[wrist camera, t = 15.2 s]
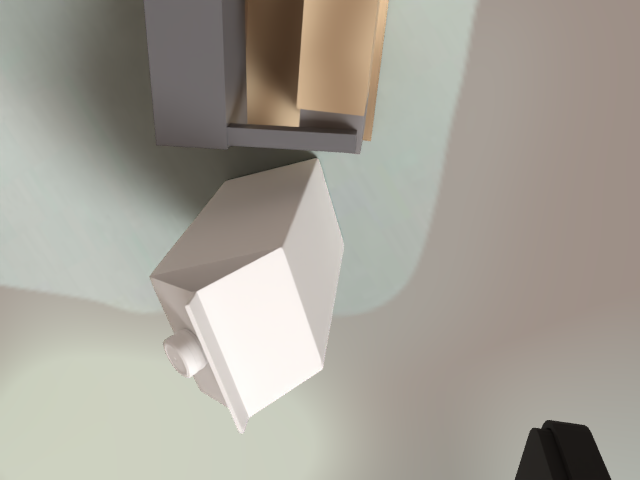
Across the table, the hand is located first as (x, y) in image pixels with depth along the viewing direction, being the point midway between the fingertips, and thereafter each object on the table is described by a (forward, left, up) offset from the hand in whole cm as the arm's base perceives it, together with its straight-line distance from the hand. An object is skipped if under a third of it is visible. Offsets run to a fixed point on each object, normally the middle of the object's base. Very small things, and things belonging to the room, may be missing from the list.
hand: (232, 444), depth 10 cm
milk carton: (-4, -10, -33) cm, 34 cm away
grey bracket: (-5, +3, -28) cm, 29 cm away
